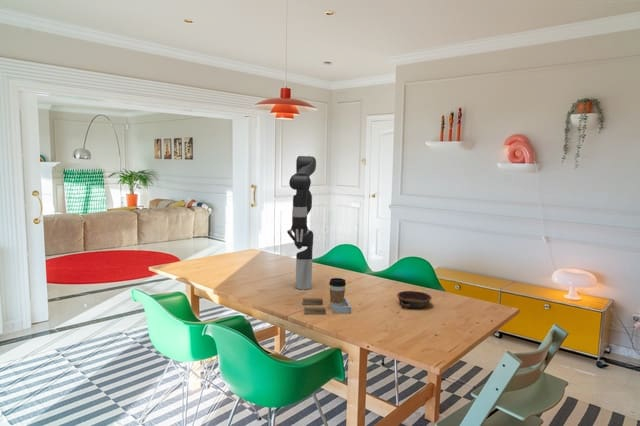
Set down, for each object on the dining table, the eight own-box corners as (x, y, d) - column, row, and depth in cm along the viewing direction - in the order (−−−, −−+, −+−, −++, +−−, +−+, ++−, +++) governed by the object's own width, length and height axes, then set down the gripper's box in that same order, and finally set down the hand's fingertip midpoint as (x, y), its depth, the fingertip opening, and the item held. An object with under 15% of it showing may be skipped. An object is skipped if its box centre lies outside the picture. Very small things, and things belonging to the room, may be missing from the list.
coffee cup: (332, 312, 213) (333, 282, 212) (325, 306, 221) (326, 277, 219) (347, 310, 217) (349, 280, 215) (340, 305, 224) (341, 276, 223)
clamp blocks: (302, 302, 226) (302, 298, 226) (321, 302, 227) (322, 298, 227) (304, 314, 209) (304, 309, 209) (325, 314, 210) (325, 309, 210)
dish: (387, 305, 227) (388, 296, 226) (410, 296, 243) (410, 287, 242) (417, 314, 215) (418, 304, 215) (439, 304, 231) (439, 295, 231)
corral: (330, 303, 226) (330, 298, 225) (346, 303, 227) (346, 298, 226) (333, 313, 212) (333, 307, 212) (350, 313, 213) (351, 307, 212)
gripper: (312, 214, 225) (311, 247, 228) (286, 213, 224) (286, 246, 227) (313, 216, 218) (312, 250, 221) (286, 216, 217) (286, 250, 220)
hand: (299, 248), depth 224 cm, fingers closed
